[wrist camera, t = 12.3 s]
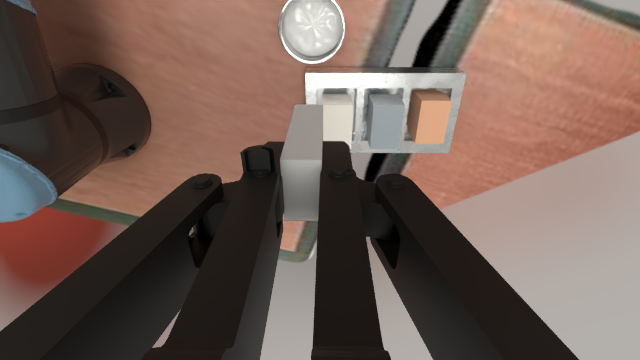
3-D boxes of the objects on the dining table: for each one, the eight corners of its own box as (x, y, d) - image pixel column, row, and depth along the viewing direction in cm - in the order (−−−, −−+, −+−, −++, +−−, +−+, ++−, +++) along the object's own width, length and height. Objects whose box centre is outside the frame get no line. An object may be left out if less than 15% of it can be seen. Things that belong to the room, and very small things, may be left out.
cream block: (322, 134, 48) (322, 148, 44) (322, 94, 45) (322, 104, 41) (349, 134, 48) (351, 148, 44) (350, 94, 45) (353, 104, 41)
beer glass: (347, 35, 45) (356, 53, 32) (301, 52, 46) (291, 75, 33) (332, -20, 41) (335, -25, 28) (283, 0, 43) (264, 3, 30)
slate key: (366, 135, 48) (370, 148, 44) (369, 94, 45) (373, 104, 41) (392, 135, 48) (399, 149, 44) (397, 94, 45) (405, 104, 41)
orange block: (407, 130, 50) (414, 143, 45) (413, 90, 46) (421, 100, 42) (433, 130, 49) (443, 143, 45) (440, 90, 46) (452, 100, 42)
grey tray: (308, 142, 53) (307, 152, 50) (306, 67, 47) (305, 73, 44) (440, 142, 53) (448, 153, 49) (456, 67, 47) (466, 73, 43)
